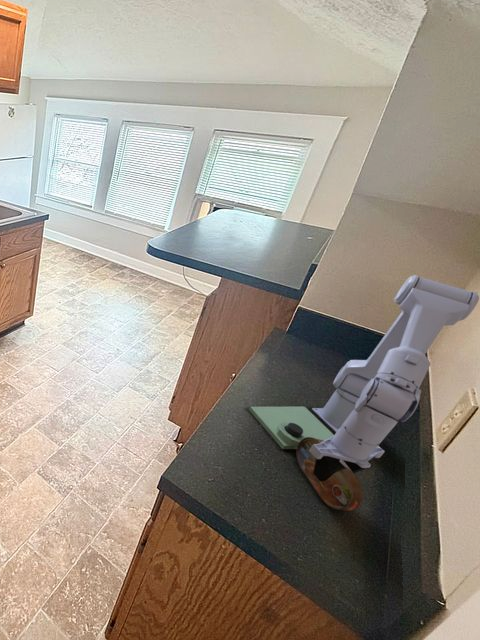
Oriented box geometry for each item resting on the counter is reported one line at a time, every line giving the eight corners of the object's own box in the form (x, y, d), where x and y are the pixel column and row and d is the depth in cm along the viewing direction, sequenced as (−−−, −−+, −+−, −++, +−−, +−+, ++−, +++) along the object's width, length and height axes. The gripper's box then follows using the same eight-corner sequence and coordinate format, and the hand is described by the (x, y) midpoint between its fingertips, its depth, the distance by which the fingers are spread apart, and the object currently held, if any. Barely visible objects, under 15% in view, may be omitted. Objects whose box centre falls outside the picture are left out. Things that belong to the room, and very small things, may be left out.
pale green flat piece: (302, 409, 102) (307, 401, 100) (343, 449, 91) (349, 441, 90) (248, 409, 100) (253, 401, 98) (283, 451, 89) (289, 442, 88)
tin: (290, 453, 89) (307, 428, 85) (304, 455, 88) (322, 430, 85) (334, 518, 75) (356, 492, 71) (350, 521, 75) (373, 495, 71)
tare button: (293, 427, 92) (296, 422, 91) (303, 437, 90) (306, 432, 89) (282, 427, 92) (285, 422, 91) (291, 438, 89) (295, 433, 88)
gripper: (347, 451, 70) (311, 496, 76) (414, 450, 71) (373, 494, 78) (315, 420, 76) (284, 464, 82) (378, 420, 78) (343, 463, 84)
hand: (326, 476), depth 80 cm, fingers closed on tin, 3 cm apart
